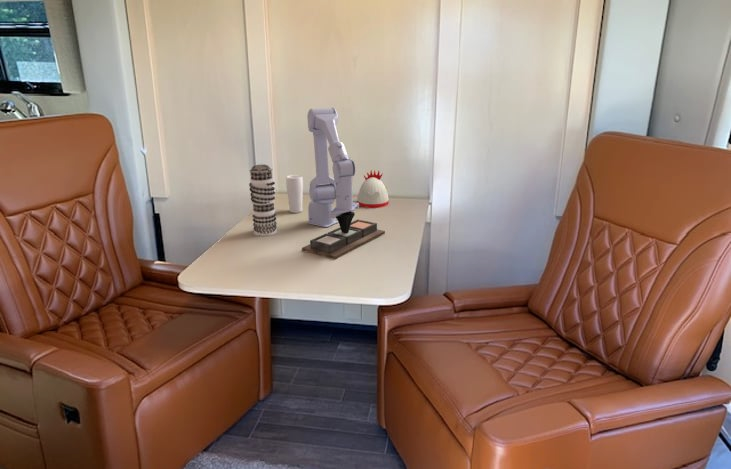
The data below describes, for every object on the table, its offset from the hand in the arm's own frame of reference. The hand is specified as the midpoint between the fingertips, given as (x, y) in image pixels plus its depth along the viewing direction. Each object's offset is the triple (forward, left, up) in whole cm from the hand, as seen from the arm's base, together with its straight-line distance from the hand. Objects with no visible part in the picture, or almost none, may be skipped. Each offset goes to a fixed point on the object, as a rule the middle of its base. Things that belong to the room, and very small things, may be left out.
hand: (345, 232), depth 183 cm
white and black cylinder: (-31, -8, -4) cm, 32 cm away
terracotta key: (0, +10, -2) cm, 10 cm away
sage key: (0, 0, -2) cm, 2 cm away
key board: (0, 0, -3) cm, 3 cm away
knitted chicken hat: (-19, +46, -4) cm, 50 cm away
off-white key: (0, -10, -2) cm, 10 cm away
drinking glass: (-39, +18, -4) cm, 43 cm away
